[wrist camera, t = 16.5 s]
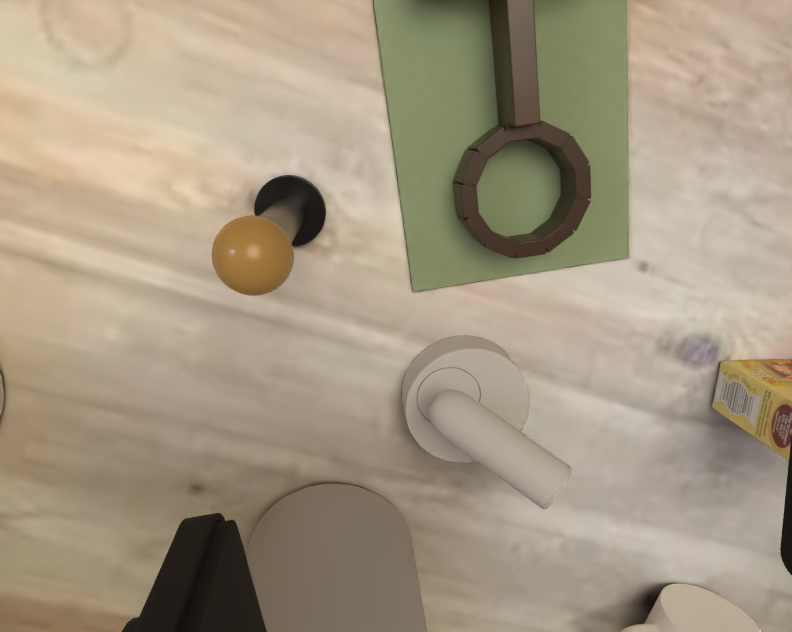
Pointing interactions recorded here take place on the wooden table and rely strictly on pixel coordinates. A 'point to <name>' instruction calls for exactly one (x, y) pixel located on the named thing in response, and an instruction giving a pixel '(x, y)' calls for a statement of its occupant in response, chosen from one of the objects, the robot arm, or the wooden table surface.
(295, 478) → the wooden table surface
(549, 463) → the wall hook
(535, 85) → the hanger
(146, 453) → the wooden table surface
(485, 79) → the felt mat
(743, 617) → the mug
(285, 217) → the peg stand
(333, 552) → the cylinder vase
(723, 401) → the candy box
